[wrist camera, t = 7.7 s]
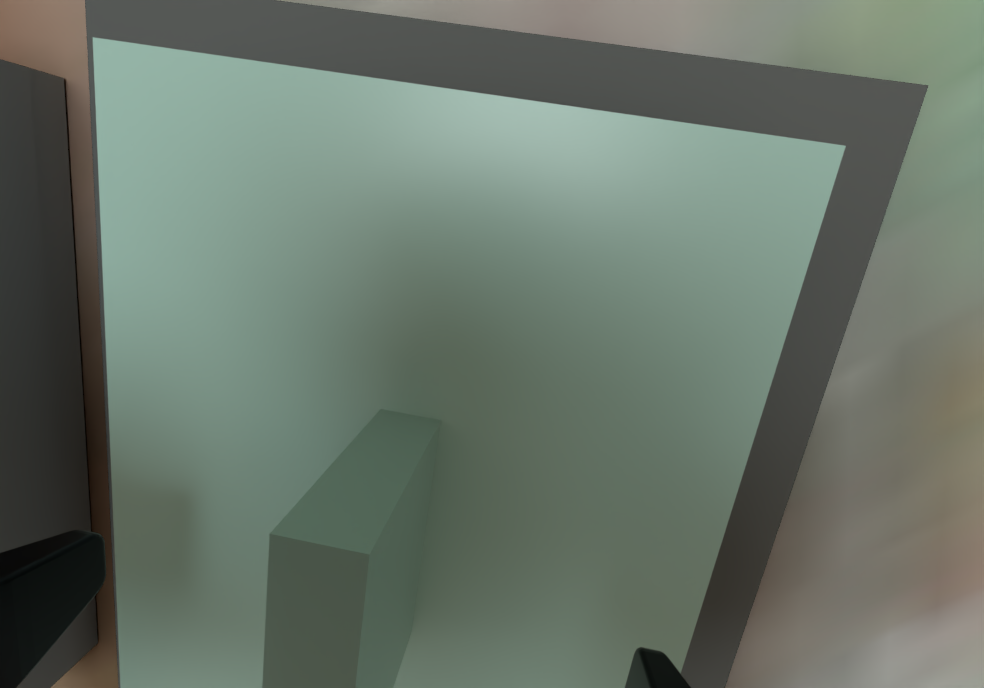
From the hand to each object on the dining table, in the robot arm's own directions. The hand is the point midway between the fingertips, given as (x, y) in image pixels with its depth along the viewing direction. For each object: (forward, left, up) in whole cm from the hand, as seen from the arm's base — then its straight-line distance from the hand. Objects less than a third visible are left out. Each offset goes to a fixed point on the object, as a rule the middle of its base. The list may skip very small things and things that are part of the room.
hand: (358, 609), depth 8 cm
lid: (0, 0, -4) cm, 4 cm away
